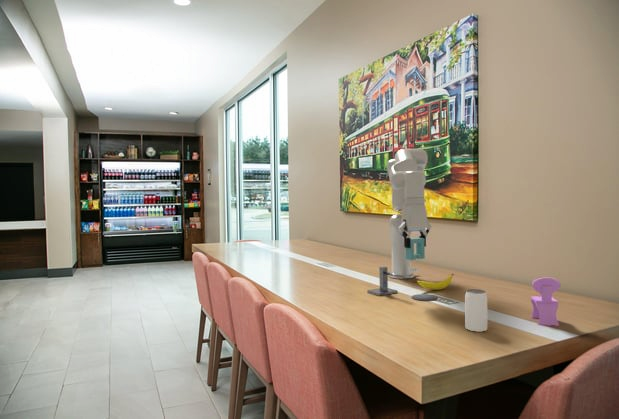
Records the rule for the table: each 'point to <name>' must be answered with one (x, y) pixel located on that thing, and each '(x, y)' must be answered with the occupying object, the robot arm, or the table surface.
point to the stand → (384, 283)
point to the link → (419, 249)
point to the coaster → (424, 297)
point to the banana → (436, 284)
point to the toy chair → (545, 301)
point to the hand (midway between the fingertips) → (415, 246)
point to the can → (476, 310)
